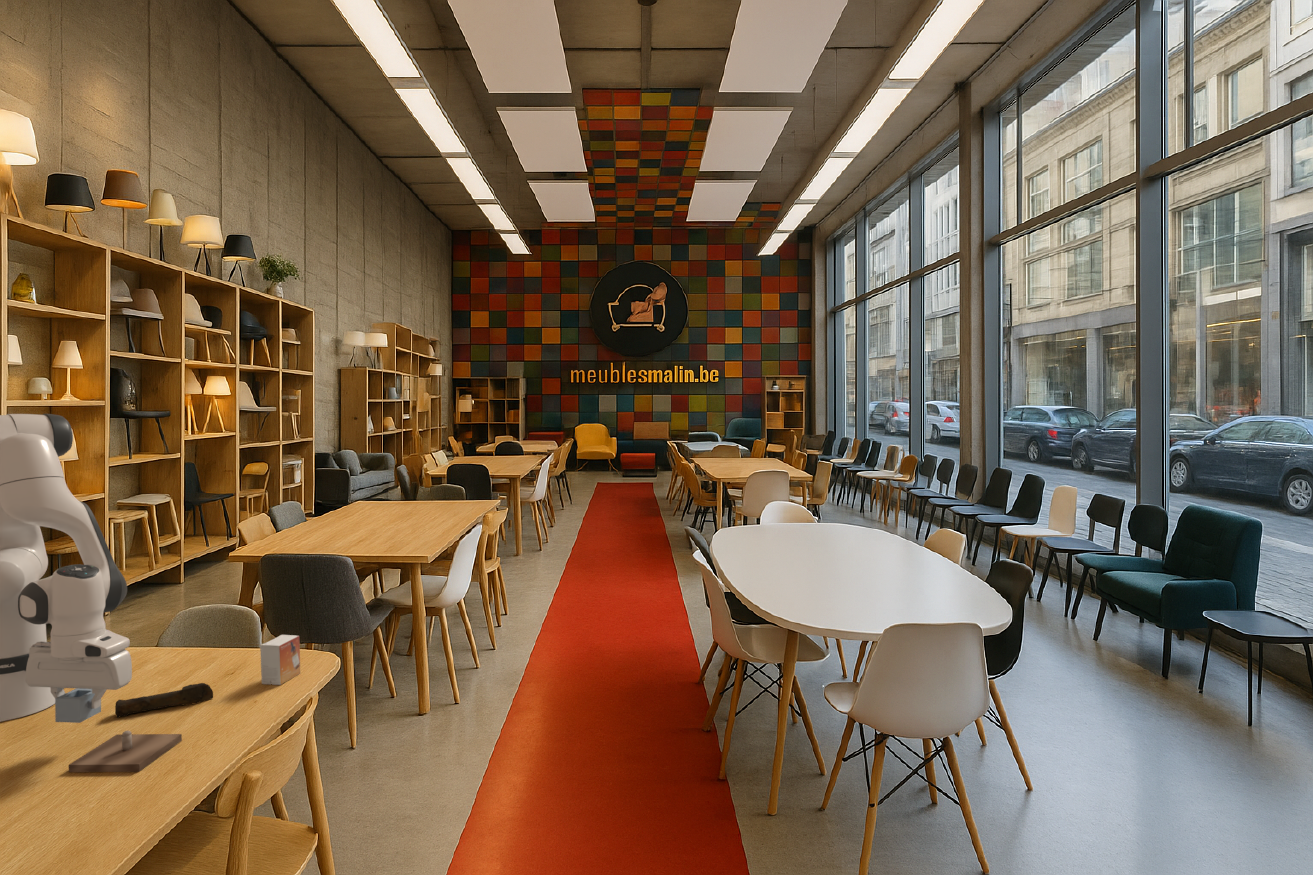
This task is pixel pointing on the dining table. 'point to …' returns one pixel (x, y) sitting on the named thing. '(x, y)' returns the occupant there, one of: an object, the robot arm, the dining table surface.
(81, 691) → the collar
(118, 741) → the mounting plate
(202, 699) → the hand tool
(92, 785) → the dining table surface
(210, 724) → the dining table surface
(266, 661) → the small box
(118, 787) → the dining table surface
